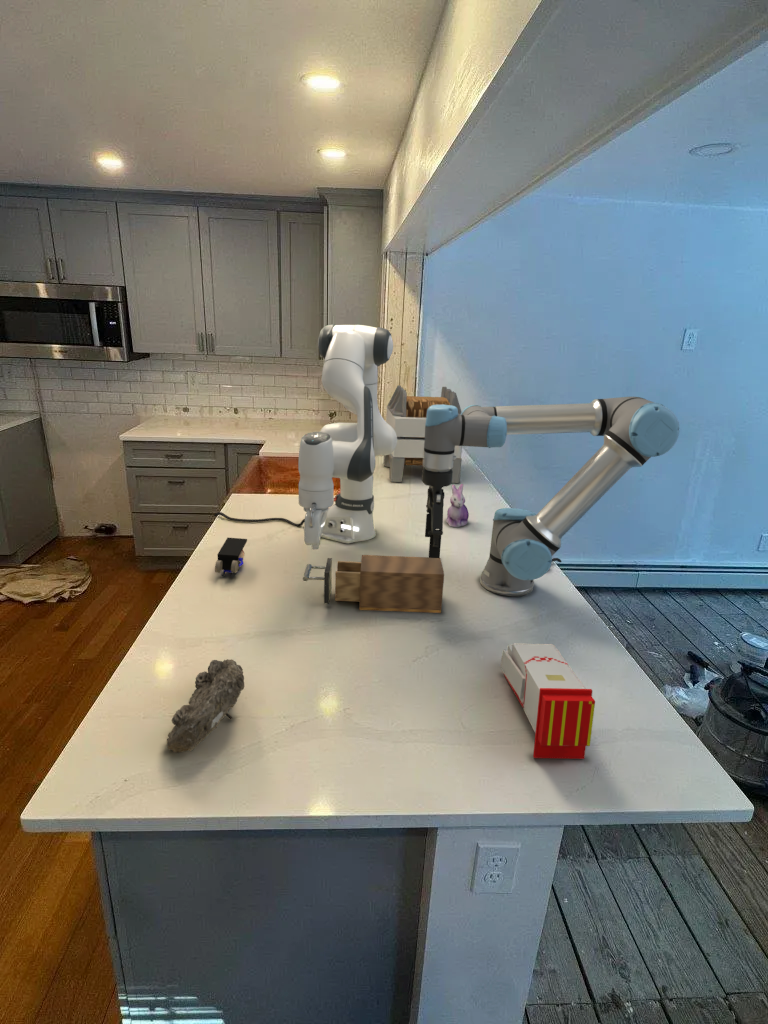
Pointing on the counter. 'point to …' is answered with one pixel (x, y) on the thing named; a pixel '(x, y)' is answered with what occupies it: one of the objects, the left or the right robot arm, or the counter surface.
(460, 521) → the figurine
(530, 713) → the toy
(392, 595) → the cabinet
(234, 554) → the black wheeled block
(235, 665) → the fossil
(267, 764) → the counter surface
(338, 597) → the drawer
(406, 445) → the transformer
